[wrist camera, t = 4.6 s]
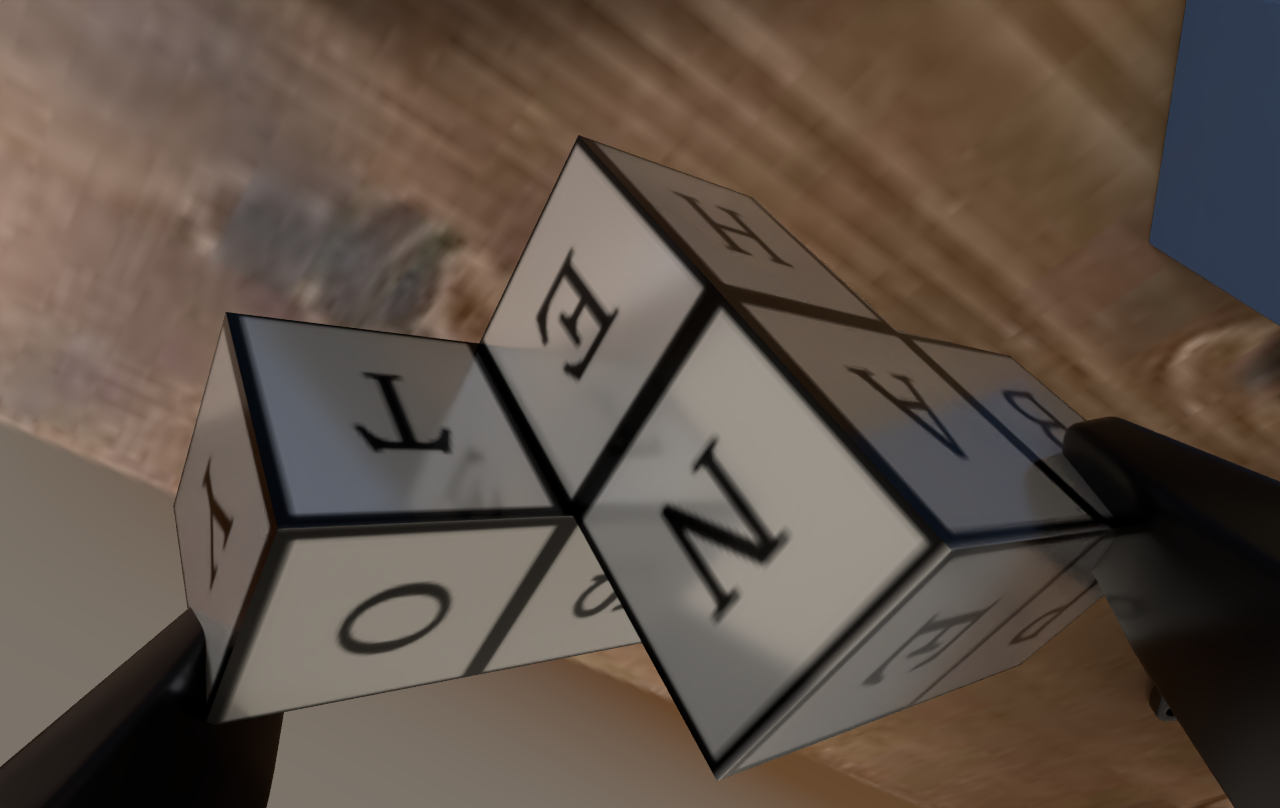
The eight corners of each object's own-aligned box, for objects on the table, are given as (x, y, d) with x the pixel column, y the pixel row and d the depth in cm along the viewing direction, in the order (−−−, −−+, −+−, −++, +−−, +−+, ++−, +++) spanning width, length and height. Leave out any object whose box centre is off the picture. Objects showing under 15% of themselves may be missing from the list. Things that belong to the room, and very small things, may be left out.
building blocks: (873, 241, 11) (300, 36, 6) (1199, 516, 8) (593, 599, 3) (689, 493, 14) (173, 506, 8) (882, 778, 11) (252, 1078, 5)
